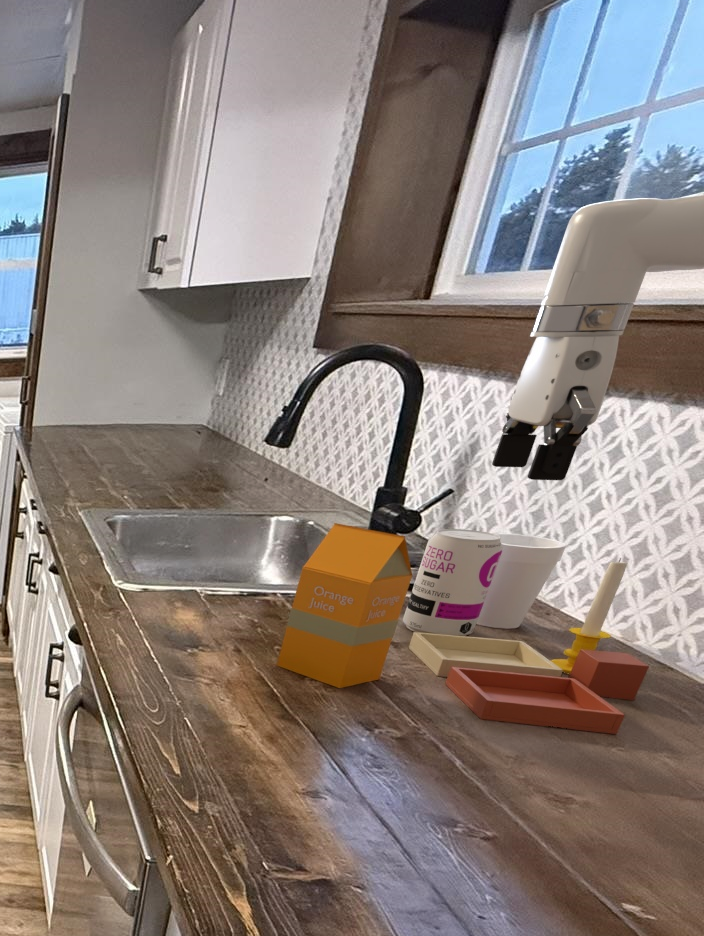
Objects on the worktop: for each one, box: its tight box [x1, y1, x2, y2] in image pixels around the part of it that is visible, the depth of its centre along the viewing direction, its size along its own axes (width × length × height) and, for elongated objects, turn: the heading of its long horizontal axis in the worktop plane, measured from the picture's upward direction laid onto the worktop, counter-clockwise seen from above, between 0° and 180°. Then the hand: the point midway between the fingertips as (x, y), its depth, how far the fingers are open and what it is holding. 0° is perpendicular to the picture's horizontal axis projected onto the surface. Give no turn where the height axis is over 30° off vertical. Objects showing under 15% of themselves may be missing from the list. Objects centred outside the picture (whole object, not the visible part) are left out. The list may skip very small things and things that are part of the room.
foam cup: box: [476, 532, 567, 630], centre depth 126 cm, size 10×9×13 cm
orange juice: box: [276, 522, 413, 689], centre depth 110 cm, size 8×9×20 cm
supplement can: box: [402, 528, 503, 636], centre depth 123 cm, size 8×8×15 cm
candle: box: [549, 557, 628, 675], centre depth 108 cm, size 5×5×16 cm
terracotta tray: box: [444, 667, 626, 735], centre depth 101 cm, size 12×11×2 cm
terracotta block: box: [567, 649, 650, 701], centre depth 104 cm, size 5×5×5 cm
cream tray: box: [408, 631, 563, 678], centre depth 113 cm, size 12×11×2 cm
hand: (525, 472), depth 101 cm, fingers open, 9 cm apart
